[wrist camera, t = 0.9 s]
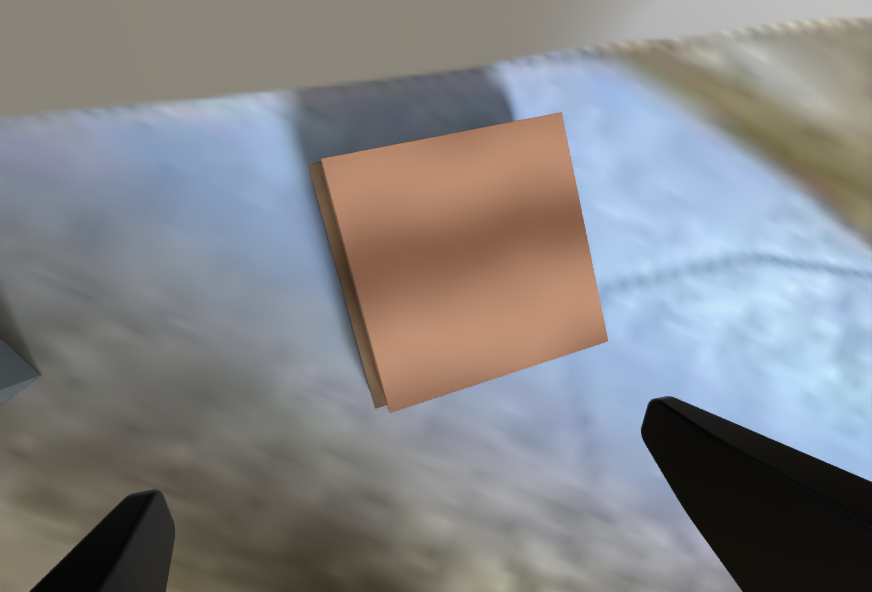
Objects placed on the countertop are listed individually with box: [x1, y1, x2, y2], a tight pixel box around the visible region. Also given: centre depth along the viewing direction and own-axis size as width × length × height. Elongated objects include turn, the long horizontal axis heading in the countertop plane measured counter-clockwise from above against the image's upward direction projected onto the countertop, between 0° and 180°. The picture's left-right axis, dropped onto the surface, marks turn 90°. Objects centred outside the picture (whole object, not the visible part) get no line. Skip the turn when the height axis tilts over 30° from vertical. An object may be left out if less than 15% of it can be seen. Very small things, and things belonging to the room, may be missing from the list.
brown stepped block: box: [308, 112, 608, 413], centre depth 20 cm, size 11×11×5 cm
